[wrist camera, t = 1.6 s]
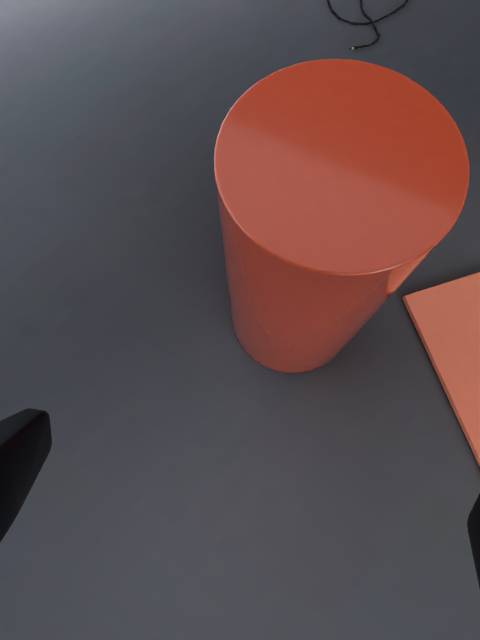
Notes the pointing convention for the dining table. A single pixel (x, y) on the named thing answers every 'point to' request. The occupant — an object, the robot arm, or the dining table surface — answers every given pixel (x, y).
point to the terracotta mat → (453, 345)
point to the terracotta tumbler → (330, 202)
